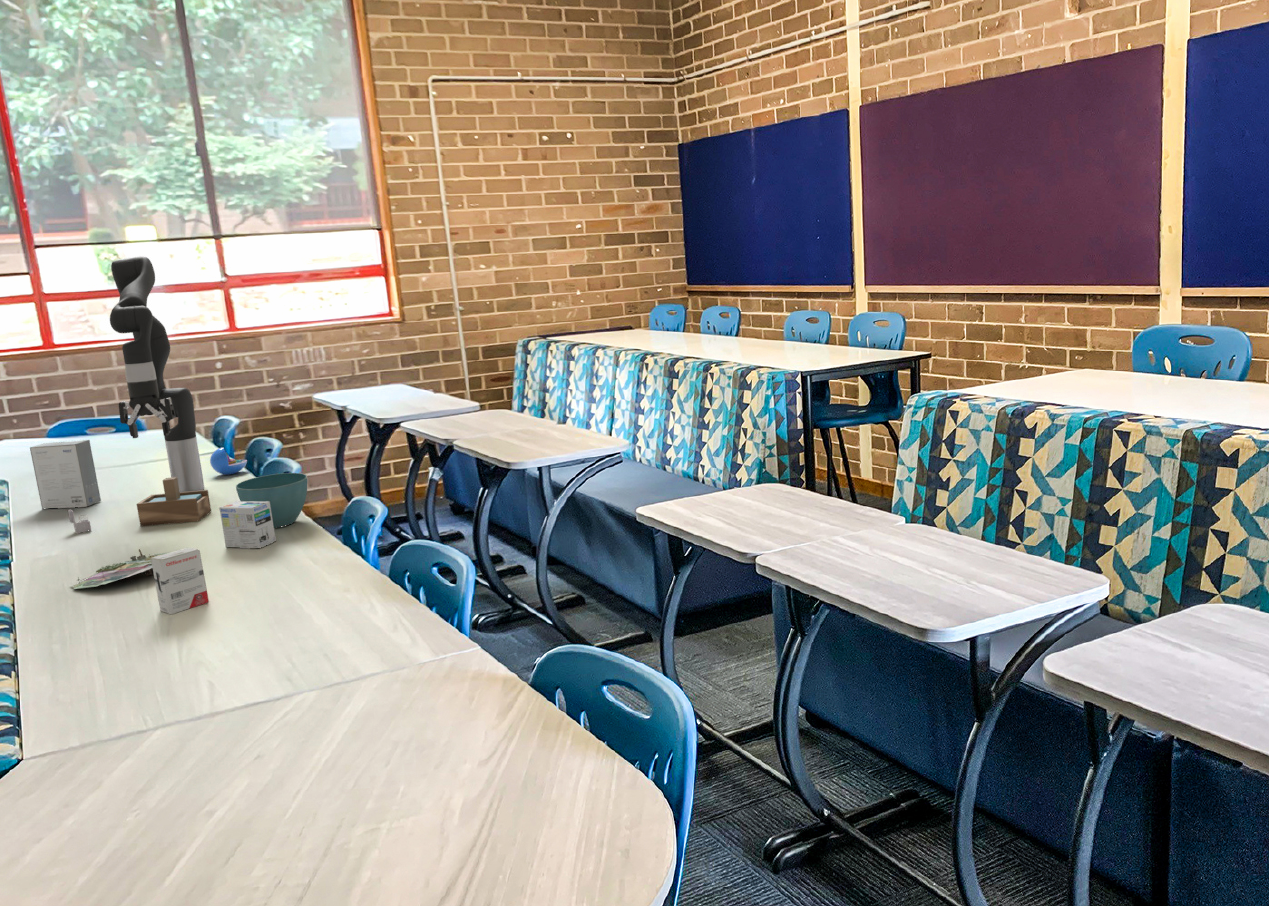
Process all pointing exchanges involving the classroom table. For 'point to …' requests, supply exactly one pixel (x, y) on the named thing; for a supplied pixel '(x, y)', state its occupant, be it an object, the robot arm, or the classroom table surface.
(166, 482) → the lid
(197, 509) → the brown wooden shelf box
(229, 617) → the classroom table surface
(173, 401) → the robot arm
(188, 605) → the ink box
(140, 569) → the city model
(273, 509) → the plant pot
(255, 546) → the light bulb box
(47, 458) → the hard drive box
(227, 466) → the cell model
